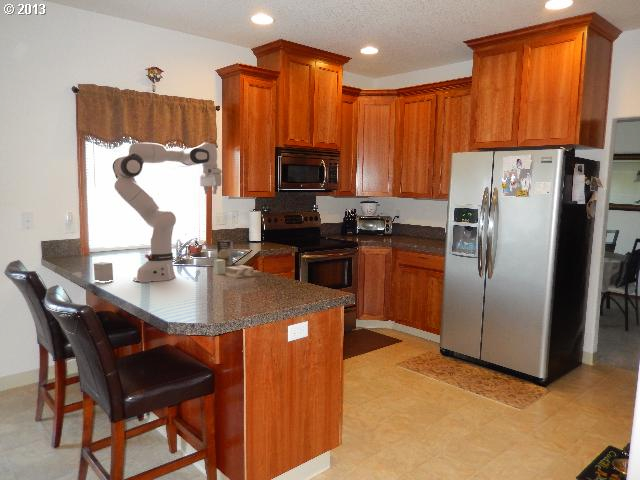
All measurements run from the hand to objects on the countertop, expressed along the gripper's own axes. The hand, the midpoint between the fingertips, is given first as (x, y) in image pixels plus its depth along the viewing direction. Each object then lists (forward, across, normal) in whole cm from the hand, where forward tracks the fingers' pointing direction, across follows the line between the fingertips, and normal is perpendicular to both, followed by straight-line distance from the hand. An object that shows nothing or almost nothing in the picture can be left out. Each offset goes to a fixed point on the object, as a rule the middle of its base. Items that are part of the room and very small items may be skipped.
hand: (210, 194), depth 280 cm
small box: (+47, -10, -59) cm, 77 cm away
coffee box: (+47, -20, +20) cm, 55 cm away
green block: (+47, +7, +1) cm, 48 cm away
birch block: (+47, +20, +6) cm, 52 cm away
